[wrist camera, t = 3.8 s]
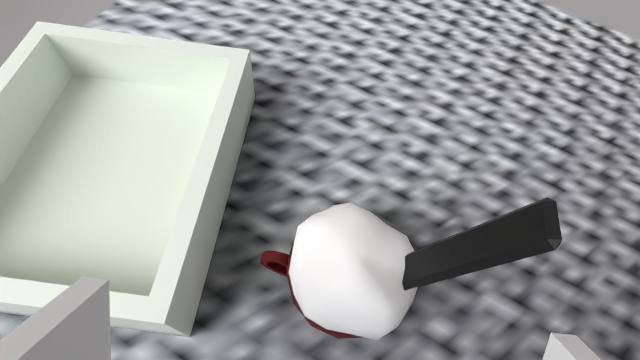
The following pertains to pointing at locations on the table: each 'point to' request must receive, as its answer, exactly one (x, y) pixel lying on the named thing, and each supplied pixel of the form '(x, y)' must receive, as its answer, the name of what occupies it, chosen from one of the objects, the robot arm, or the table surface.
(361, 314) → the cocoa
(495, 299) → the table surface
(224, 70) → the bin
